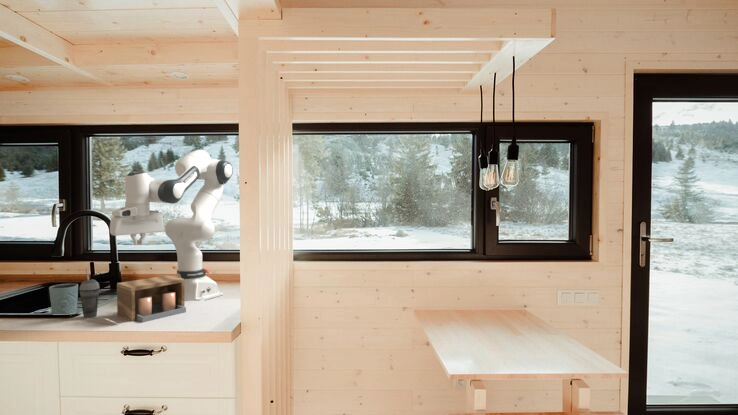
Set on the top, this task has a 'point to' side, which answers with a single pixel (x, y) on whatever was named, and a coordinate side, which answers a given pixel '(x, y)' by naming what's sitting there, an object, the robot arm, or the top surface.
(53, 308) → the teal cup
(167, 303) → the peach glossy rounded part
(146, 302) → the peach rounded capsule
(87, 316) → the beverage cup
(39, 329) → the top surface
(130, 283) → the open wooden box
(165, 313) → the tray
